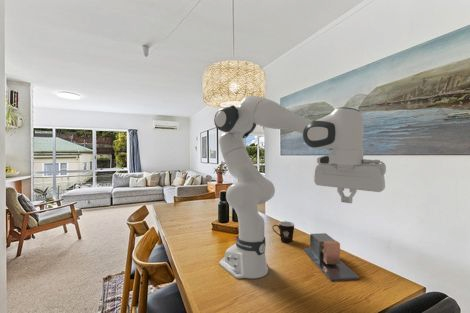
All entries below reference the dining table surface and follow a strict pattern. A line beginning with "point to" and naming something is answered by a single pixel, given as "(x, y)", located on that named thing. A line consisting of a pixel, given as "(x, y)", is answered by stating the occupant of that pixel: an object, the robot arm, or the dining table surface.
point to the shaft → (331, 252)
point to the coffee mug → (285, 231)
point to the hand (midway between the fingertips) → (346, 202)
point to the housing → (330, 270)
